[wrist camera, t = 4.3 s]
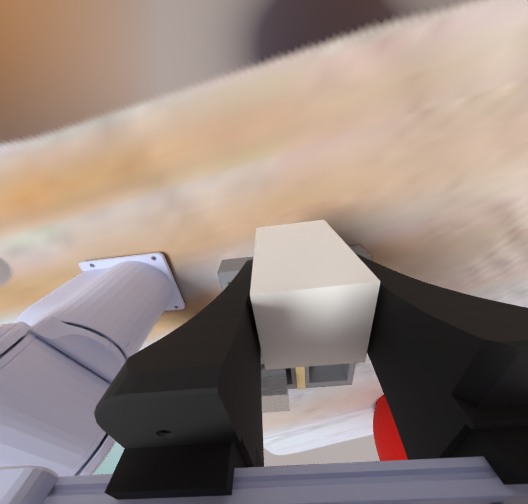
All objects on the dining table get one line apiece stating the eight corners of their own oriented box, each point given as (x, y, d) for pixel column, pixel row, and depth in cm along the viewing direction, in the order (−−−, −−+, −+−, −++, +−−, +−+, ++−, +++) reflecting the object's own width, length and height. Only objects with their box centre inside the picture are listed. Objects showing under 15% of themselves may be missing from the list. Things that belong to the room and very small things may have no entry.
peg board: (252, 374, 31) (252, 393, 29) (222, 260, 21) (216, 274, 18) (345, 367, 30) (352, 386, 28) (360, 244, 20) (373, 257, 18)
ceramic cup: (419, 360, 29) (487, 449, 20) (437, 406, 36) (493, 489, 27) (340, 384, 32) (370, 471, 24) (370, 423, 39) (401, 502, 30)
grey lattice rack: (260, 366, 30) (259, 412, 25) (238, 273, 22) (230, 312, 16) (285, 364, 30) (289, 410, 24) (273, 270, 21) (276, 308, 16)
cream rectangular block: (264, 281, 13) (265, 369, 8) (256, 228, 11) (249, 294, 6) (323, 275, 13) (364, 362, 8) (324, 219, 11) (380, 281, 6)
